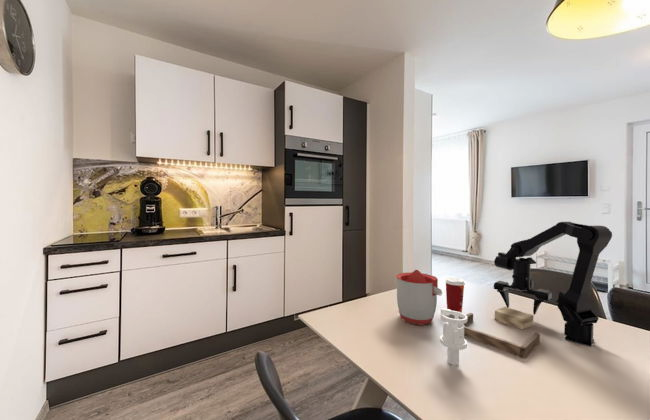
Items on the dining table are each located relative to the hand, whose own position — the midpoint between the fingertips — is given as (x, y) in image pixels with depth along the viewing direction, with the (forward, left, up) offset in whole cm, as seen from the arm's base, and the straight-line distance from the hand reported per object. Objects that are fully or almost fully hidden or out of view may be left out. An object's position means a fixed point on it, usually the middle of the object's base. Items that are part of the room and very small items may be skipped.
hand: (520, 310), depth 112 cm
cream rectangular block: (0, +8, -3) cm, 9 cm away
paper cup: (+19, +17, -3) cm, 26 cm away
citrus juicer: (+24, +36, -3) cm, 44 cm away
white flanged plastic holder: (+1, +54, -3) cm, 54 cm away
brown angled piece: (0, +27, -2) cm, 27 cm away
